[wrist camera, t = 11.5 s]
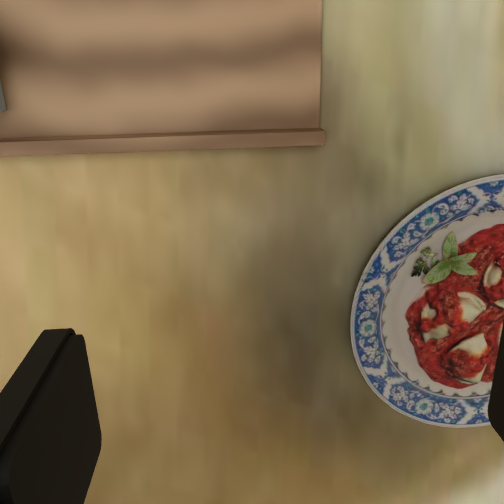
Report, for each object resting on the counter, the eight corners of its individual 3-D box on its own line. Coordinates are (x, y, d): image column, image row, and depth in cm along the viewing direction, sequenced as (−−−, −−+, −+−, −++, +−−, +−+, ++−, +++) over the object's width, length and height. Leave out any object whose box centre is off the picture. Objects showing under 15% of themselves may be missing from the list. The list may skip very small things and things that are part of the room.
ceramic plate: (636, 345, 48) (661, 361, 46) (403, 449, 51) (413, 471, 49) (575, 113, 40) (602, 116, 37) (298, 255, 43) (304, 268, 40)
